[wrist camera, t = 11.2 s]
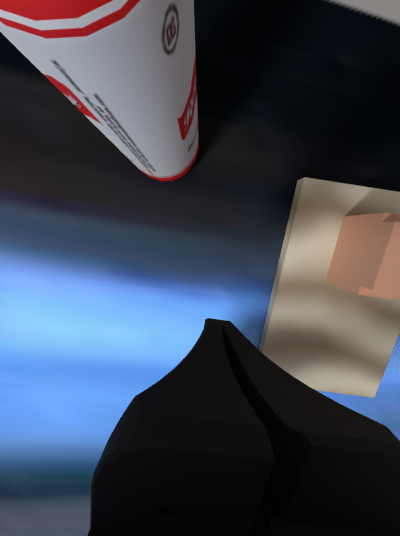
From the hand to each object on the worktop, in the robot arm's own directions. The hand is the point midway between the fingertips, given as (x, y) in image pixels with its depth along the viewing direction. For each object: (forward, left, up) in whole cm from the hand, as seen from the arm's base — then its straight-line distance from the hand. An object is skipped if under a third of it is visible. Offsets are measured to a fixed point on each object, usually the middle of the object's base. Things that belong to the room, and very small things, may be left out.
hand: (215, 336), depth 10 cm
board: (0, -14, -10) cm, 18 cm away
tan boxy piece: (+5, -14, -9) cm, 18 cm away
